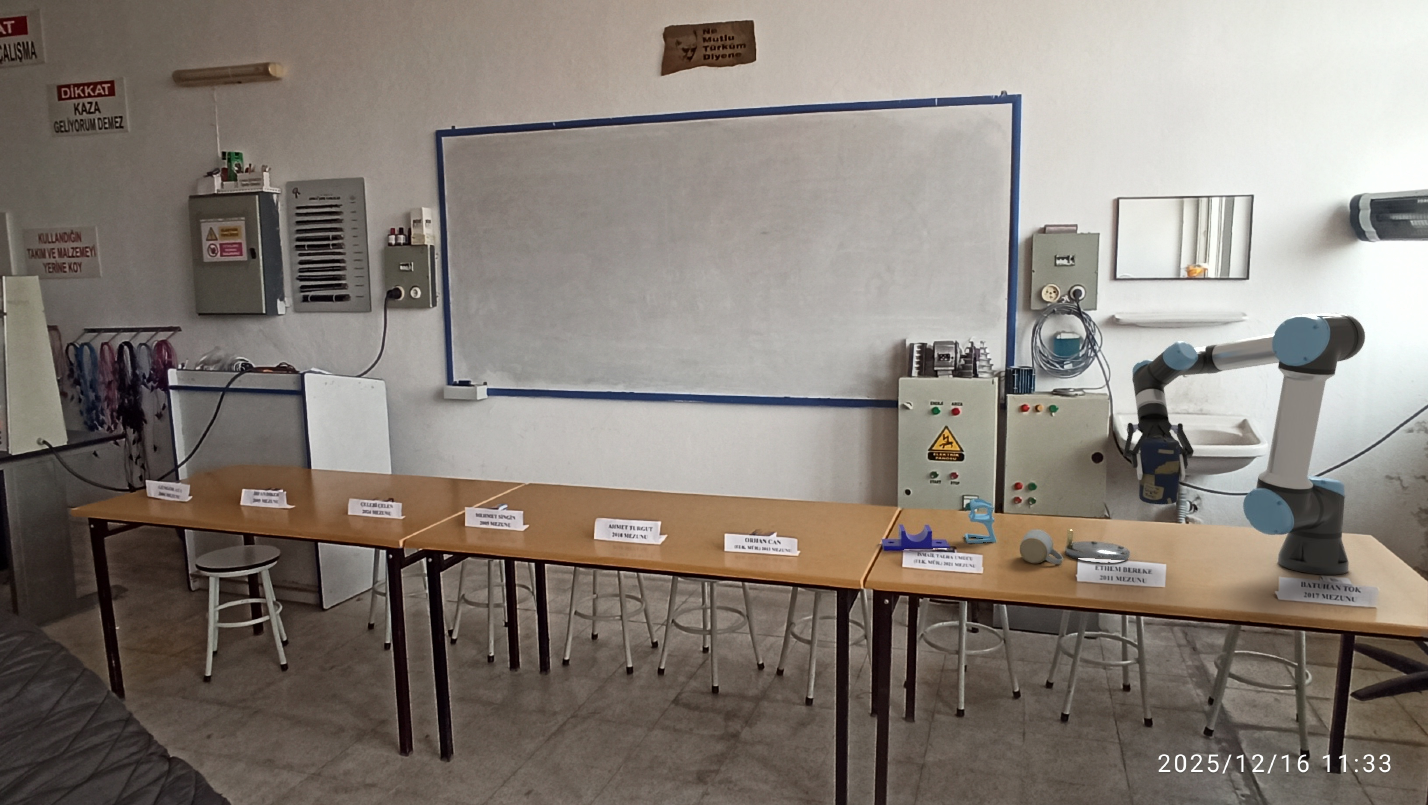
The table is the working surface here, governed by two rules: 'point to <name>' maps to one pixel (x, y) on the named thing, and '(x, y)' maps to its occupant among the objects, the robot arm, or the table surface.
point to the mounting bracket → (914, 541)
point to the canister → (1159, 470)
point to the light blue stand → (981, 521)
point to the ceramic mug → (1038, 548)
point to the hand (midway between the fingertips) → (1161, 477)
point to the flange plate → (1094, 549)
